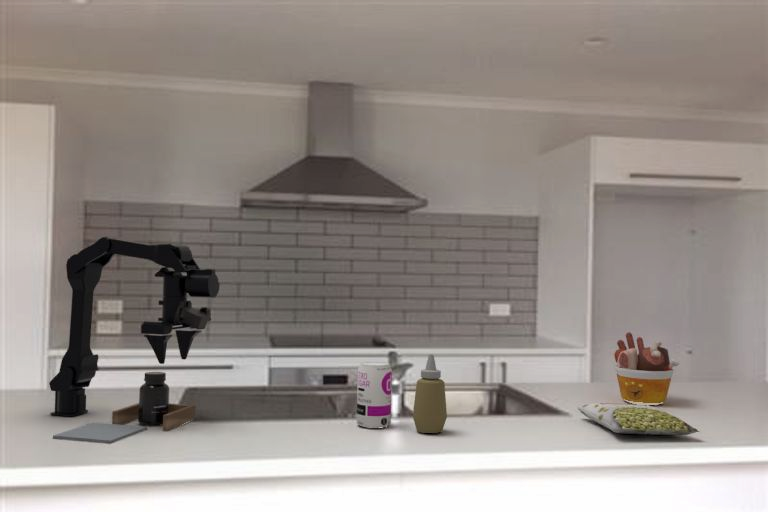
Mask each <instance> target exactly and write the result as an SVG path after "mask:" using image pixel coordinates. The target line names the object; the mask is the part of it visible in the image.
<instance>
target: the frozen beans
mask: <svg viewBox="0 0 768 512" xmlns="http://www.w3.org/2000/svg"><path fill="white" fill-rule="evenodd" d="M576 408H577V410H578V411H579V412H580V413H581V414H583V415H584V416H585V417H586V418H588V419H590V420H592V421H594V422H595V423H596V424H597V423H598V425H602V427H604V428H606V429H609V430H610V431H612V432H613V433H616V434H628V435H629V434H630V435H647V434H649V435H653V436H654V435H656V436H659V435H660V436H664V435H665V436H687V435H692V434H695V433H701V431H699V430H698V429H697V428H694V427H693V426H691V425H690V424H688V423H687V422H685V421H684V420H682V419H681V418H679V417H677V416H675V415H672V414H670V413H668V412H666V411H664V410H662V409H659V408H656V407H655V406H647V405H637V404H630V403H614V402H613V403H610V402H609V403H608V402H607V403H601V402H600V403H596V402H595V403H590V404H584V405H581V406H579V405H578V406H576Z"/></svg>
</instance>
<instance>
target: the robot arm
mask: <svg viewBox="0 0 768 512" xmlns="http://www.w3.org/2000/svg"><path fill="white" fill-rule="evenodd" d="M115 255H119V256H125V257H130V258H135V259H136V258H137V259H144V260H148V261H151V262H153V263H154V264H157V265H159V266H162V267H161V268H160V269H159V270H158V271H157V272H156V273H154V277H155V278H162V299H161V300H158V305H159V306H161V309H162V310H161V316H160V317H157V320H147V321H146V320H145V321H143V322H142V323H141V324H140V334H143V337H144V338H146V339H147V341H148V343H149V345H150V347H151V348H152V350H153V352H154V355H155V357H156V359H157V362H158V363H159V364H160V365H164V364H165V362H166V356H167V347H168V346H167V345H168V341H169V340H170V339H171V338H172V337H173V334H171V333H172V331H173V330H174V331H175V336H176V340H177V344H178V345H177V346H178V350H179V351H178V352H179V355H180V357H181V358H180V359H181V360H187V357H188V355H189V352H190V349H191V347H192V343H193V341H194V339H195V337H196V336H198V335H199V334H200V333H202V330H205V329H206V327H207V324H208V322H211V321H212V318H211V317H212V313H211V312H212V311H211V308H210V307H209V308H208V307H207V306H205V307H204V306H203V307H200V308H194V307H192V304H193V303H192V302H191V300H188V295H189V297H191V298H213V299H214V298H217V296H218V295H219V291H220V282H219V278H218V276H217V274H216V269H215V268H206V269H201V268H200V266H199V265H198V263H197V262H196V260H195V259H194V257H193V253H192V250H191V249H190V246H187V244H186V245H185V244H174V243H160V244H158V243H157V244H151V243H144V242H137V241H133V240H125V239H119V238H117V237H109V236H103V237H100V238H98V240H97V241H95V242H94V243H93V244H91V245H89V246H87V247H85V248H83V249H82V250H80V251H79V252H78V253H76V254H75V253H74V254H73V255H70V257H69V258H67V260H66V263H65V265H66V266H65V268H66V278H67V280H68V284H69V285H70V288H71V308H70V323H69V338H68V347H67V350H66V352H65V354H64V355H63V357H62V359H61V362H60V367H59V369H58V373H57V374H56V375H55V376H54V377H53V378H52V379H51V380H50V381H49V382H48V384H49V385H48V386H49V389H50V391H51V392H54V397H55V398H54V411H51V412H50V413H49V415H51V416H61V417H62V416H63V417H75V416H79V415H82V414H85V413H88V412H89V409H87V394H86V388H88V387H90V384H91V382H92V379H93V378H95V376H96V372H97V371H99V367H98V362H99V355H98V354H94V353H93V351H92V349H91V337H92V335H91V333H92V324H93V323H92V319H93V305H94V292H95V289H96V287H97V285H98V284H99V281H100V280H101V277H102V272H103V268H105V266H107V265H108V264H109V263H110V262H111V260H112V258H113V257H114V256H115ZM170 269H171V270H170ZM184 273H185V274H186V275H184Z"/></svg>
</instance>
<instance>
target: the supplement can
mask: <svg viewBox="0 0 768 512" xmlns="http://www.w3.org/2000/svg"><path fill="white" fill-rule="evenodd" d="M392 377H393V369H392V367H391V366H390V363H389V362H386V361H385V362H384V361H363V362H360V364H359V366H358V368H357V384H356V385H357V386H356V387H357V388H356V391H357V392H356V424H357V425H358V426H359V425H360V426H363V427H371V428H379V427H386V426H388V427H389V426H390V425H391V422H392V421H391V420H392V386H393V385H392V381H393V378H392ZM360 426H359V427H360ZM386 428H387V427H386Z"/></svg>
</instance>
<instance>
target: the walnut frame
mask: <svg viewBox="0 0 768 512" xmlns="http://www.w3.org/2000/svg"><path fill="white" fill-rule="evenodd" d="M138 413H139V402H138V403H134V404H132V405H128V406H125V407H121V408H119V409H115V410H113V411H112V415H111V416H112V417H111V418H112V420H111V424H119V425H127V424H128V423H131V421H132V422H134V420H135V421H138V420H137V419H138ZM191 420H193V421H195V420H196V405H195V404H182V403H181V404H180V403H170V402H169V412H168V414H165V415H163V425H162V431H163V432H168V431H171V430H174V429H177V428H178V426H179V427H180V425H181V426H183V425H182V424H184V423H186V422H188V421H191ZM191 422H192V421H191ZM188 423H189V422H188ZM186 424H187V423H186ZM184 425H185V424H184Z"/></svg>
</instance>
